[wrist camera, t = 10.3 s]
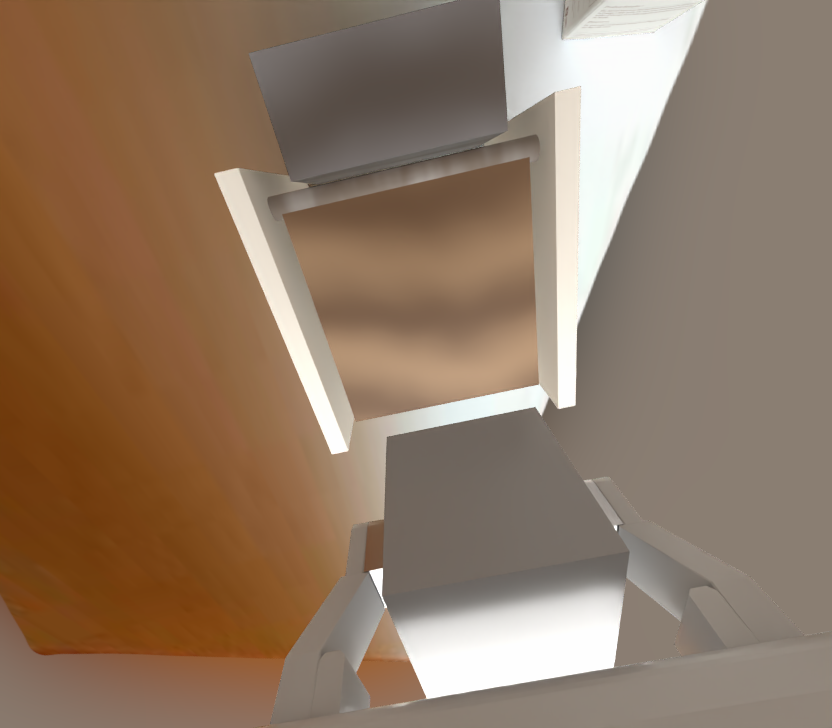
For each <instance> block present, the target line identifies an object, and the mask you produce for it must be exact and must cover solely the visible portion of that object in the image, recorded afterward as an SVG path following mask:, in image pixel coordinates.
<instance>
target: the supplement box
mask: <svg viewBox="0 0 832 728" xmlns="http://www.w3.org/2000/svg"><path fill="white" fill-rule="evenodd" d="M703 1H704V0H565V8H564V20H563V31H562V39H563V40H571V39H587V38H599V37H611V36H623V35H635V34H646V33H654V32H655V31H657V30H658V29H660V28H661V27H663V26H665V25H666V24H668V23H670V22H671V21H673V20H674V19H676V18H678V17H679V16H681V15H682V14H684V13H685V12H687V11H689V10H690V9H692V8H693V7H695V6H696V5H698V4H700V3H701V2H703Z"/></svg>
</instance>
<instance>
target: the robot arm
mask: <svg viewBox="0 0 832 728" xmlns="http://www.w3.org/2000/svg"><path fill="white" fill-rule="evenodd" d="M584 482H585V484H586V485H587V487H588V488H589V490H590V491H591V493H592V494H593V496H594V497H595V499H596V500H597V502H598V504H599V505H600V507H601V508H602V510H603V511H604V513H605V514H606V516H607V517H608V519H609V520H610V522H611V523H612V525H613V526H614V528H615V529H616V531H617V532H618V534H619V536H620V537H621V539H622V540H623V542H624V543H625V545H626V546H627V548H628V549H629V551H630V554H629V561H628V568H627V575H626V577H627V578H628V579H629V580H630V581H632V582H633V583H634V584H635V585H636V586H638V587H639V588H640V589H641V590H643V591H644V592H645V593H646V594H647V595H649V596H650V597H651V598H652V599H654V600H655V601H656V602H657V603H659V604H660V605H661V606H662V607H664V608H665V609H666V610H667V611H668V612H670V613H671V614H672V615H673V616H675V617H676V618H677V619H678V620H680V621H681V622H680V626H679V629H678V633H677V636H676V640H675V643H674V645H675V647H676V649H677V650H678V652H679V653H680V655H681V656H679V657H673V658H667V659H662V660H655V661H650V662H643V663H637V664H632V665H625V666H619V667H613V668H607V669H601V670H595V671H589V672H583V673H577V674H571V675H565V676H559V677H553V678H547V679H541V680H535V681H529V682H523V683H518V684H512V685H506V686H500V687H494V688H488V689H482V690H476V691H470V692H464V693H458V694H452V695H446V696H440V697H434V698H428V699H422V700H416V701H410V702H404V703H398V704H392V705H386V706H380V707H374V708H370V695H369V694H368V692H367V690H366V689H365V687H364V685H363V684H362V682H361V681H360V679H359V677H358V676H357V674H356V672H357V670H358V667H359V665H360V663H361V661H362V659H363V657H364V655H365V652H366V650H367V648H368V646H369V644H370V641H371V639H372V637H373V635H374V633H375V630H376V628H377V626H378V624H379V622H380V619H381V617H382V615H383V613H384V611H385V607H386V605H385V602H384V600H383V598H382V574H383V542H384V520H378V521H372V522H366V523H360V524H355V525H353V527H352V530H351V537H350V545H349V552H348V560H347V568H346V575H345V576H344V577H341V578H340V579H339V581H338V582H337V583H336V585H335V586H334V588H333V589H332V591H331V592H330V594H329V595H328V597H327V598H326V600H325V601H324V602H323V604H322V605H321V607H320V608H319V610H318V611H317V613H316V614H315V616H314V617H313V619H312V620H311V622H310V623H309V624H308V626H307V627H306V629H305V630H304V632H303V633H302V635H301V636H300V638H299V639H298V641H297V642H296V644H295V645H294V646H293V648H292V649H291V651H290V652H289V654H288V655H287V657H286V659H285V663H284V667H283V672H282V676H281V680H280V684H279V689H278V693H277V697H276V701H275V705H274V709H273V714H272V718H271V722H270V725H268V726H261V727H256V728H832V631H829V632H823V633H817V634H811V635H804V634H803V633H802V632H801V631H800V630H799V629H798V627H797V626H796V625H795V624H794V623H793V622H792V621H791V620H790V619H789V618H788V617H787V616H786V614H785V613H784V612H783V611H782V610H781V609H780V608H779V607H778V606H777V605H776V604H775V603H774V602H773V600H772V599H771V598H770V597H769V596H768V595H767V594H766V593H765V592H764V591H763V590H762V589H761V588H760V587H759V585H758V584H757V583H756V582H755V581H754V580H753V579H752V578H751V577H750V576H748V575H746V574H745V573H743V572H741V571H739V570H737V569H735V568H734V567H732V566H730V565H728V564H727V563H725V562H723V561H721V560H719V559H718V558H716V557H714V556H712V555H710V554H708V553H707V552H705V551H703V550H701V549H699V548H698V547H696V546H694V545H692V544H690V543H688V542H687V541H685V540H683V539H681V538H679V537H678V536H676V535H674V534H672V533H671V532H669V531H667V530H665V529H663V528H662V527H660V526H658V525H656V524H654V523H653V522H651V521H649V520H648V521H643V520H642V518H641V517H640V516H639V515H638V513H637V512H636V511H635V509H634V508H633V507H632V505H631V504H630V503H629V502H628V500H627V499H626V498H625V497H624V495H623V494H622V492H621V491H620V490H619V489H618V487H617V486H616V485H615V483H614V482H613V481H612V479H610V478H609V477H602V478H597V479H592V480H585V481H584Z"/></svg>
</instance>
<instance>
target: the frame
mask: <svg viewBox="0 0 832 728" xmlns="http://www.w3.org/2000/svg"><path fill="white" fill-rule="evenodd" d="M580 109H581V86H579V87H575V88H570V89H566V90H562V91H558V92H554V93H553V94H551V95H550V96H548V97H546V98H545V99H543V100H542V101H540V102H538V103H537V104H535V105H533V106H532V107H530V108H529V109H527V110H525V111H524V112H522V113H521V114H519V115H517V116H516V117H514V118H513V119H511V120H509V121H508V122H507V123H508V131H506V132H504V133H502V134H500V135H499V136H497V137H495V138H493V139H491V140H489V141H488V142H486V143H484V146H488V145H492V144H497V143H501V142H505V141H509V140H514V139H518V138H522V137H526V136H531V135H535V134H536V135H537V136H538V138H539V142H540V154H539V158H538V160H537V161H536V162H532V163H530V179H531V203H532V227H533V251H534V275H535V299H536V323H537V348H538V372H539V384H540V385H541V387H542V388H543V389H544V391H545V392H546V393H547V395H548V396H549V397H550V398H551V400H552V401H553V402H554V404H555V405H556V406H557V408H558V409H559V408H564V407H569V406H575V396H576V394H575V393H576V392H575V391H576V339H577V337H576V336H577V282H578V224H579V166H580ZM214 175H215V177H216V179H217V182H218V184H219V186H220V189H221V191H222V194H223V196H224V198H225V201H226V203H227V205H228V208H229V210H230V213H231V215H232V217H233V220H234V222H235V224H236V227H237V229H238V232H239V234H240V236H241V239H242V241H243V244H244V246H245V248H246V251H247V253H248V255H249V258H250V260H251V263H252V265H253V267H254V270H255V272H256V274H257V277H258V279H259V282H260V284H261V286H262V289H263V291H264V293H265V296H266V298H267V301H268V303H269V305H270V308H271V310H272V312H273V315H274V317H275V320H276V322H277V324H278V327H279V329H280V331H281V334H282V336H283V339H284V341H285V343H286V346H287V348H288V351H289V353H290V355H291V358H292V360H293V362H294V365H295V367H296V370H297V372H298V374H299V377H300V379H301V381H302V384H303V386H304V389H305V391H306V393H307V396H308V398H309V400H310V403H311V405H312V408H313V410H314V412H315V415H316V417H317V419H318V422H319V424H320V427H321V429H322V431H323V434H324V436H325V438H326V441H327V443H328V446H329V448H330V450H331V453H332V454H336V453H341V452H346V451H348V449H349V444H350V438H351V432H352V427H353V421H354V415H353V412H352V409H351V407H350V404H349V401H348V398H347V395H346V392H345V390H344V387H343V384H342V381H341V378H340V376H339V373H338V370H337V367H336V364H335V362H334V359H333V356H332V353H331V350H330V348H329V345H328V342H327V339H326V336H325V334H324V331H323V328H322V325H321V322H320V320H319V317H318V314H317V311H316V308H315V306H314V303H313V300H312V297H311V294H310V292H309V289H308V286H307V283H306V280H305V278H304V275H303V272H302V269H301V266H300V264H299V261H298V258H297V255H296V252H295V249H294V247H293V244H292V241H291V238H290V235H289V233H288V230H287V227H286V224H285V221H284V220H281V221H276V220H275V219H274V218H273V216H272V214H271V212H270V210H269V206H268V202H267V199H268V197H270V196H275V195H279V194H283V193H287V192H292V191H296V190H300V189H305V188H309V186H308V183H300V182H291V180H290V177H289V176H287V175H280V174H274V173H267V172H261V171H255V170H248V169H242V168H236V169H231V170H227V171H223V172H219V173H215V174H214Z"/></svg>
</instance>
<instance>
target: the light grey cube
mask: <svg viewBox="0 0 832 728" xmlns="http://www.w3.org/2000/svg"><path fill="white" fill-rule="evenodd" d="M629 554H630V551H629V549H628V548H627V546H626V545H625V543H624V542H623V540H622V539H621V537H620V536H619V534H618V532H617V531H616V529H615V528H614V526H613V525H612V523H611V522H610V520H609V519H608V517H607V516H606V514H605V513H604V511H603V510H602V508H601V507H600V505H599V504H598V502H597V500H596V499H595V497H594V496H593V494H592V493H591V491H590V490H589V488H588V487H587V485H586V484H585V482H584V481H583V479H582V478H581V476H580V475H579V473H578V472H577V470H576V469H575V467H574V465H573V464H572V462H571V461H570V460H569V458H568V456H567V455H566V453H565V452H564V450H563V449H562V447H561V446H560V444H559V443H558V441H557V440H556V438H555V437H554V435H553V434H552V432H551V430H550V429H549V427H548V426H547V425H546V423H545V421H544V420H543V419H542V417H541V415H540V414H539V412H538V411H537V409H536V408H535V407H534V408H529V409H524V410H519V411H514V412H509V413H504V414H499V415H494V416H489V417H484V418H479V419H474V420H469V421H464V422H459V423H454V424H449V425H444V426H439V427H434V428H429V429H424V430H419V431H414V432H409V433H404V434H399V435H394V436H389V437H387V446H386V478H385V510H384V542H383V574H382V598H383V600H384V602H385V605H386V607H387V609H388V611H389V614H390V616H391V618H392V620H393V623H394V625H395V627H396V629H397V632H398V634H399V636H400V638H401V641H402V643H403V645H404V647H405V650H406V652H407V654H408V656H409V659H410V661H411V663H412V665H413V668H414V670H415V672H416V674H417V677H418V679H419V681H420V683H421V686H422V687H423V690H424V692H425V694H426V697H427V699H428V698H434V697H440V696H446V695H452V694H458V693H464V692H470V691H476V690H482V689H488V688H494V687H500V686H506V685H512V684H518V683H523V682H529V681H535V680H541V679H547V678H553V677H559V676H565V675H571V674H577V673H583V672H589V671H595V670H601V669H607V668H613V667H614V661H615V654H616V647H617V640H618V632H619V625H620V618H621V611H622V604H623V597H624V589H625V582H626V575H627V568H628V561H629Z"/></svg>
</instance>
